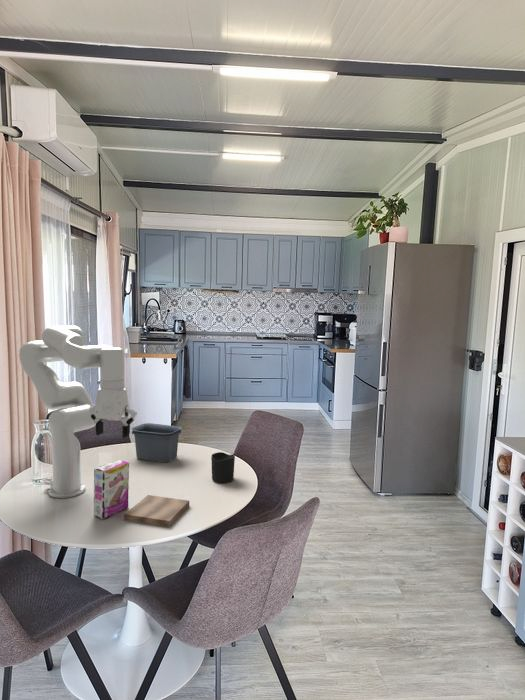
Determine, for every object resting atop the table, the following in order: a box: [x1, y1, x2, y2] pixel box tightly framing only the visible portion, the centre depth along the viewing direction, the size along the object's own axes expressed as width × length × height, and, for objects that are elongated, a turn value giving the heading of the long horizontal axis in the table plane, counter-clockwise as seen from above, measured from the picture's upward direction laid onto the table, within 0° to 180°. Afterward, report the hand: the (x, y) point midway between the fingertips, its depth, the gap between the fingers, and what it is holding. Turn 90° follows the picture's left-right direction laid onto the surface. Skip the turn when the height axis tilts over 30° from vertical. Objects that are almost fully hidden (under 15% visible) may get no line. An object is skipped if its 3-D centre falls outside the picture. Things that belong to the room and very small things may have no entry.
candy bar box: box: [93, 459, 130, 520], centre depth 156 cm, size 11×5×16 cm, turn 150°
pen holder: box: [210, 451, 236, 484], centre depth 188 cm, size 9×9×10 cm
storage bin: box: [130, 422, 183, 464], centre depth 212 cm, size 21×16×14 cm
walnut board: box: [123, 494, 190, 528], centre depth 157 cm, size 16×16×2 cm
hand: (112, 435), depth 155 cm, fingers open, 9 cm apart
